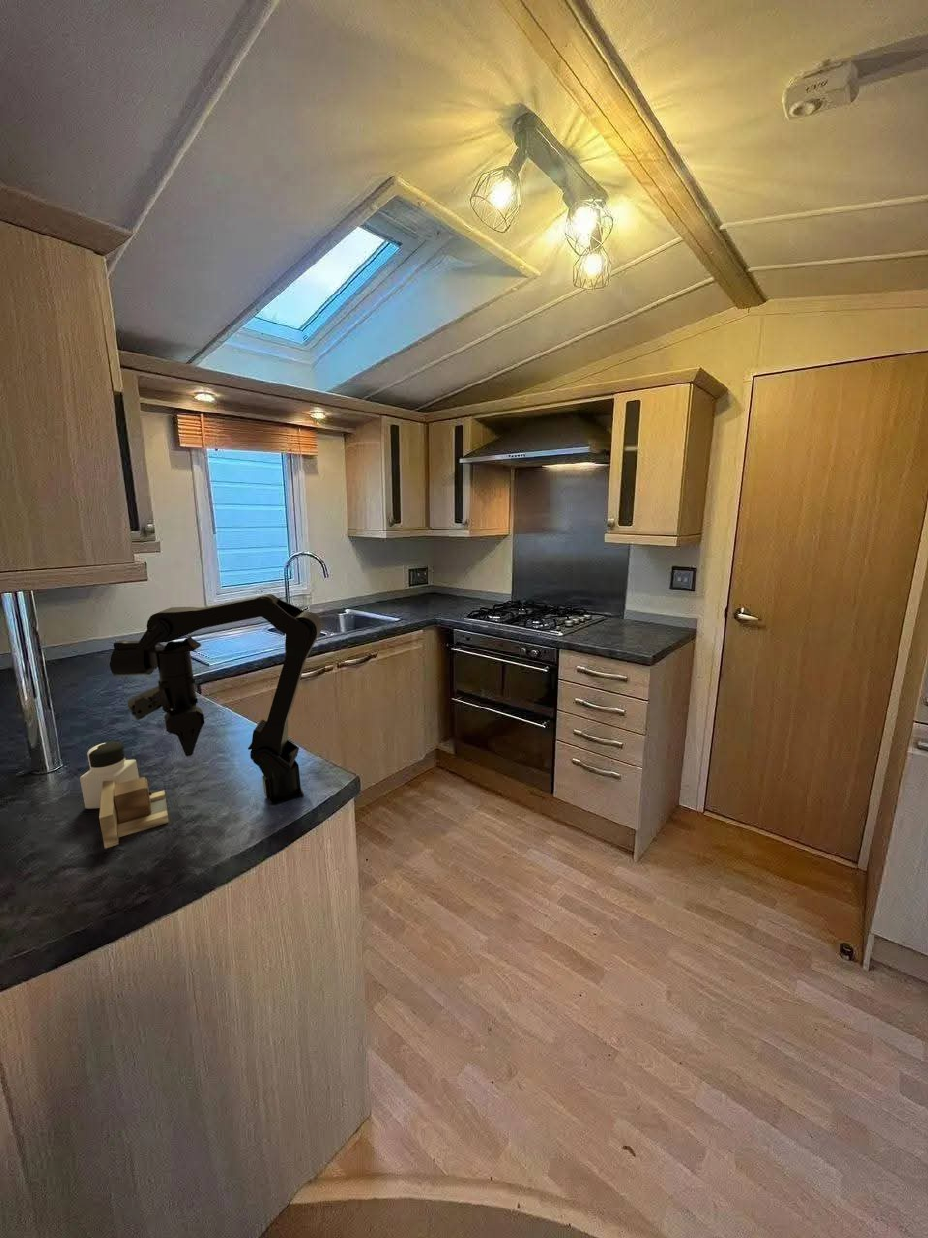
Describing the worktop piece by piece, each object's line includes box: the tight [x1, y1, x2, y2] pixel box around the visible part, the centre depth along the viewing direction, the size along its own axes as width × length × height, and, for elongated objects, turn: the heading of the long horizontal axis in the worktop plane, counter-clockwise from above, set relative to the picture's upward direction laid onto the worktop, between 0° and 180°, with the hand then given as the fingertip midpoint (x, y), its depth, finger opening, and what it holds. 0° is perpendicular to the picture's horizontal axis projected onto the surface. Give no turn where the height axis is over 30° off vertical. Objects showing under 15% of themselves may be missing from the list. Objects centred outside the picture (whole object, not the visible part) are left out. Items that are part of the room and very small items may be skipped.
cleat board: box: [98, 781, 169, 850], centre depth 98 cm, size 10×16×6 cm, turn 33°
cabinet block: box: [114, 776, 152, 824], centre depth 98 cm, size 6×5×6 cm
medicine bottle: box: [79, 741, 140, 810], centre depth 104 cm, size 7×7×12 cm
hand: (186, 747), depth 101 cm, fingers open, 9 cm apart
